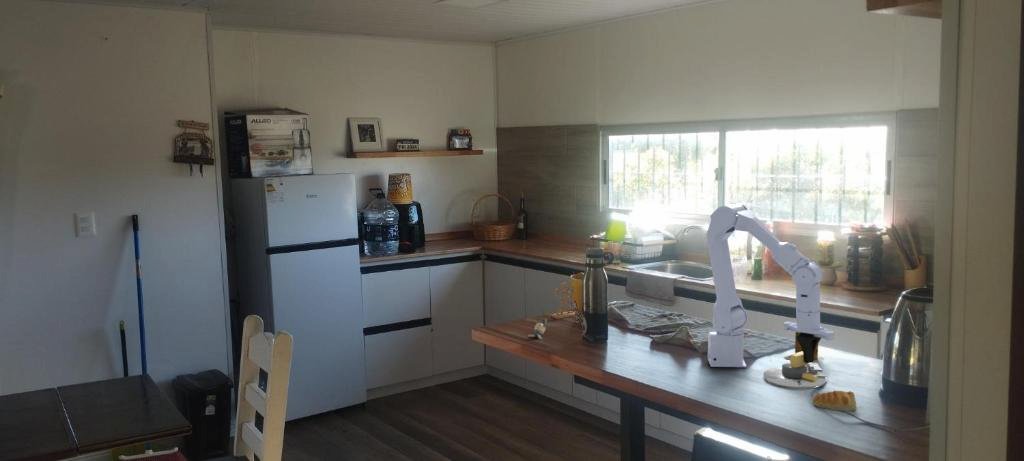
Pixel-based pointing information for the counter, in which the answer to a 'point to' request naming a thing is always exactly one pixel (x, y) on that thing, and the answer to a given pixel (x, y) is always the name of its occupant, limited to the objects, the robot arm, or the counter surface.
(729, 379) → the counter surface
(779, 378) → the post plate
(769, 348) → the counter surface
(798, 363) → the multicoloured piece
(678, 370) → the counter surface
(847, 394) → the pastry
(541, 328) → the grey cream animal figurine
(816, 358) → the condiment
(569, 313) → the gingerbread man figurine
